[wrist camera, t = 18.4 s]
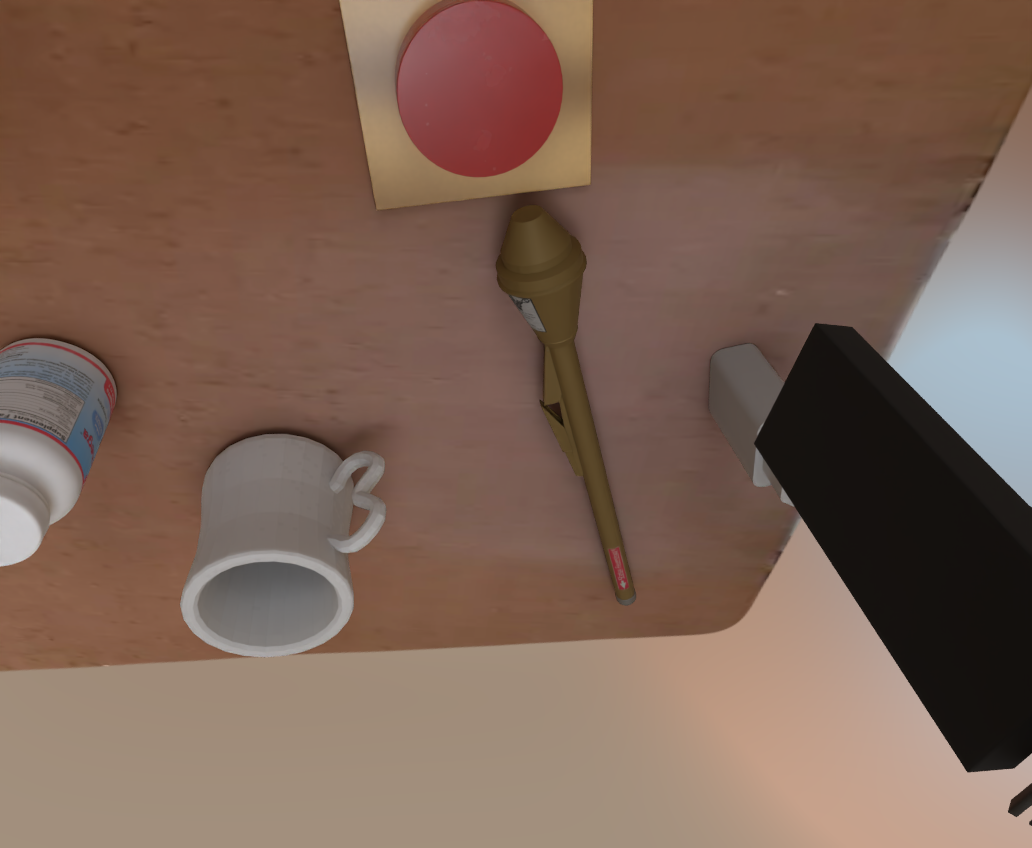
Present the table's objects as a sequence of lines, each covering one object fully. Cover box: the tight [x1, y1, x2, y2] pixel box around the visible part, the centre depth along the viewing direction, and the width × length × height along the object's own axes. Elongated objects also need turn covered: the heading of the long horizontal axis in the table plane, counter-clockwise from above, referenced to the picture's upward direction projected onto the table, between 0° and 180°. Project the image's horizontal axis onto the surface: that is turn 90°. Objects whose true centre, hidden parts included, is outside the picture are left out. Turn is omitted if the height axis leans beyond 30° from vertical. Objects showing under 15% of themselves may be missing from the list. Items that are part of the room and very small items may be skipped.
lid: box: [395, 0, 563, 177], centre depth 34 cm, size 8×7×2 cm
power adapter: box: [709, 343, 794, 506], centre depth 44 cm, size 3×5×12 cm, turn 8°
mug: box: [180, 434, 386, 657], centre depth 44 cm, size 12×9×10 cm
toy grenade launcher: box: [496, 205, 636, 605], centre depth 48 cm, size 5×35×5 cm
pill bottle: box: [0, 338, 117, 566], centre depth 36 cm, size 6×6×11 cm
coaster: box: [339, 0, 593, 210], centre depth 35 cm, size 11×11×1 cm
